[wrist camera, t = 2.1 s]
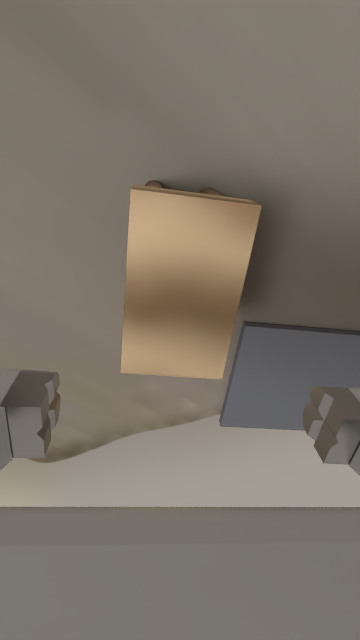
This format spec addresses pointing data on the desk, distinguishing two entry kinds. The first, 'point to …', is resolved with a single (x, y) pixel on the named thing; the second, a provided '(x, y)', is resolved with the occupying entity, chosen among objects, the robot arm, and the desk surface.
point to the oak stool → (184, 279)
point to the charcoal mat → (286, 373)
